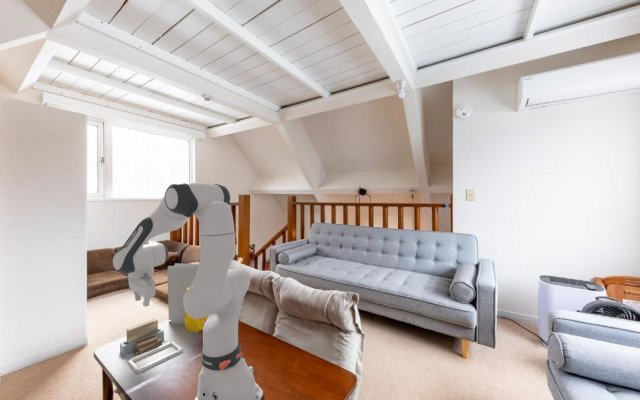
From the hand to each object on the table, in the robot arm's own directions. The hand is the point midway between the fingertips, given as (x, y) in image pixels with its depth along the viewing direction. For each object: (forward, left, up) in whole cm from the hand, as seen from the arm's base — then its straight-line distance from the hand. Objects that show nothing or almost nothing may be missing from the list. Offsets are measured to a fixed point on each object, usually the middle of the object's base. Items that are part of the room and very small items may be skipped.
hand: (142, 302), depth 109 cm
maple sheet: (0, 0, -18) cm, 18 cm away
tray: (-14, 0, -19) cm, 24 cm away
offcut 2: (-6, 0, -17) cm, 18 cm away
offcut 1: (-5, 0, -16) cm, 17 cm away
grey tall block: (+7, -21, -20) cm, 29 cm away
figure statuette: (-5, -20, -20) cm, 28 cm away
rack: (-3, 0, -19) cm, 20 cm away
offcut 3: (-6, 0, -18) cm, 19 cm away
